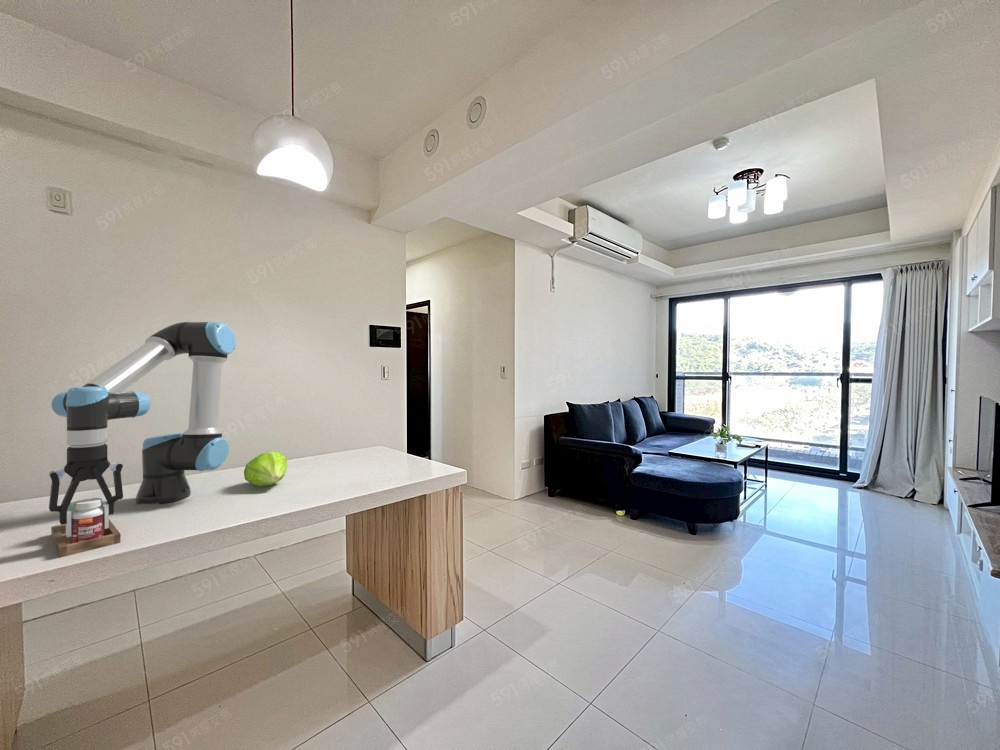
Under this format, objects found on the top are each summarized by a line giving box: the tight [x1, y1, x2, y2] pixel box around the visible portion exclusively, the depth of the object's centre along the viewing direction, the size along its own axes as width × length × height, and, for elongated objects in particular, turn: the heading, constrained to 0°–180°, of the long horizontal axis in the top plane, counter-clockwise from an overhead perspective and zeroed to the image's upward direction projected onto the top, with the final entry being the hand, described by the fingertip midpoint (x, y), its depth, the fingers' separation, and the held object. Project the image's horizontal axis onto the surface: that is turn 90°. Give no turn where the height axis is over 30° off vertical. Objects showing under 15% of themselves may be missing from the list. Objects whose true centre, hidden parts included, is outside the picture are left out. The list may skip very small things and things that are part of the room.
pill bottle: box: [70, 497, 104, 544], centre depth 106 cm, size 6×6×11 cm
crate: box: [50, 519, 121, 559], centre depth 109 cm, size 11×21×3 cm, turn 52°
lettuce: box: [243, 451, 288, 488], centre depth 161 cm, size 15×20×14 cm
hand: (87, 531), depth 106 cm, fingers closed on pill bottle, 6 cm apart
